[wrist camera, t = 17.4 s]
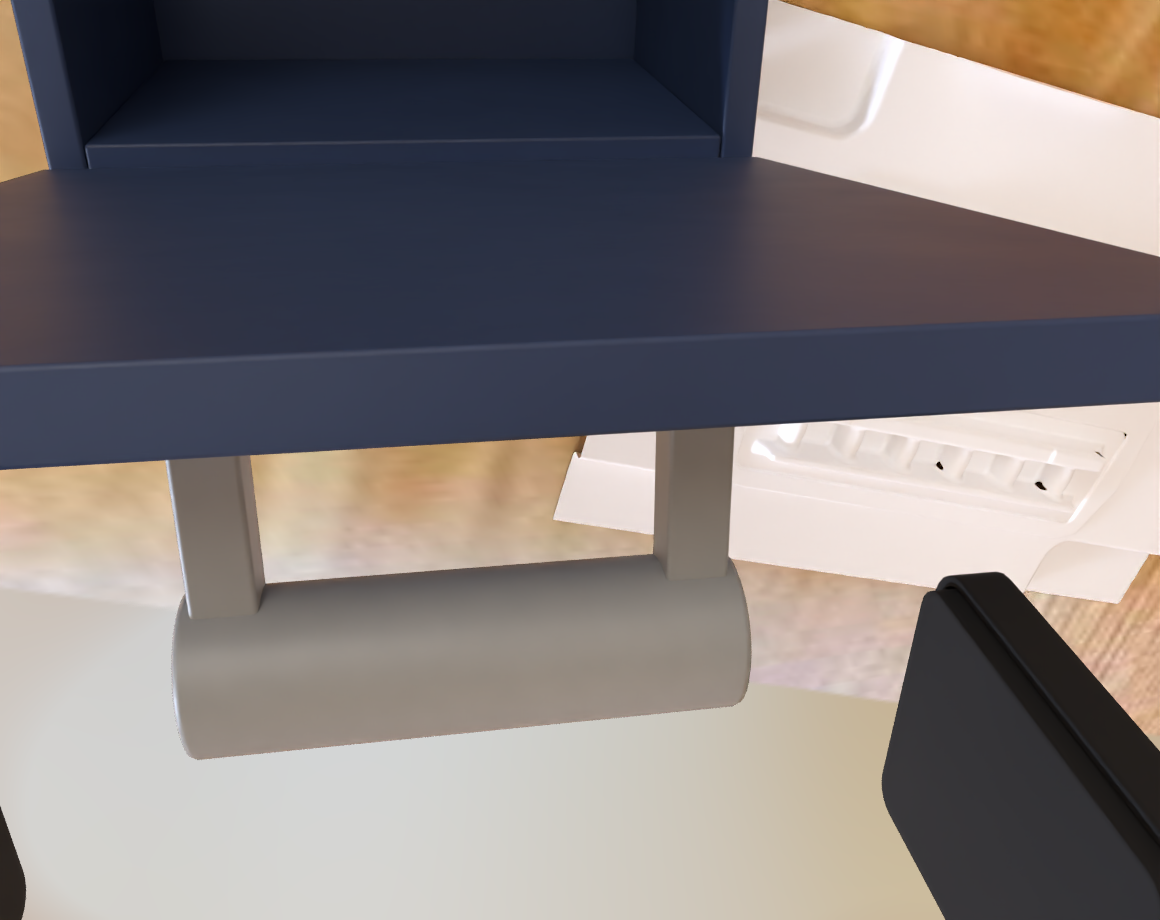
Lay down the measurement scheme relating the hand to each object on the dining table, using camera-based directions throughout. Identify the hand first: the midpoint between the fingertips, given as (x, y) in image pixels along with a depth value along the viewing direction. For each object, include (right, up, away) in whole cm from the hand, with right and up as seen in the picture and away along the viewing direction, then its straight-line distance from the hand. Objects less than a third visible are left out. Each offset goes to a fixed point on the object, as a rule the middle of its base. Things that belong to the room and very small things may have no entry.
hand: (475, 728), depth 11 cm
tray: (+16, +7, +31) cm, 36 cm away
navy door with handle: (-1, +6, +5) cm, 8 cm away
